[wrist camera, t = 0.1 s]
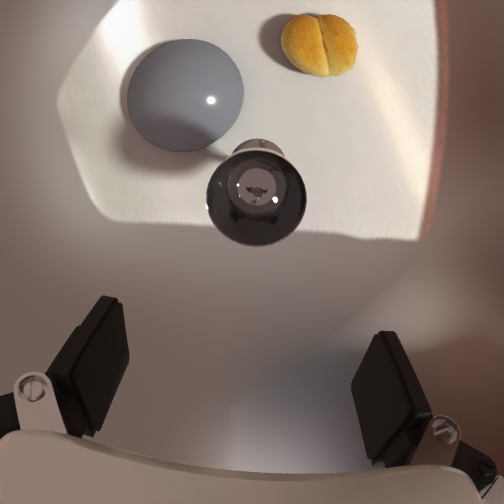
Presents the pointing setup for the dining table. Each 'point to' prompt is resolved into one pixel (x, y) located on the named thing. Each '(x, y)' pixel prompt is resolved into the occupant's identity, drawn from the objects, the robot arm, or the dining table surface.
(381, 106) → the dining table surface
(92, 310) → the robot arm
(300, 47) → the bread roll
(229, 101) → the plate
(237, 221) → the wine glass
